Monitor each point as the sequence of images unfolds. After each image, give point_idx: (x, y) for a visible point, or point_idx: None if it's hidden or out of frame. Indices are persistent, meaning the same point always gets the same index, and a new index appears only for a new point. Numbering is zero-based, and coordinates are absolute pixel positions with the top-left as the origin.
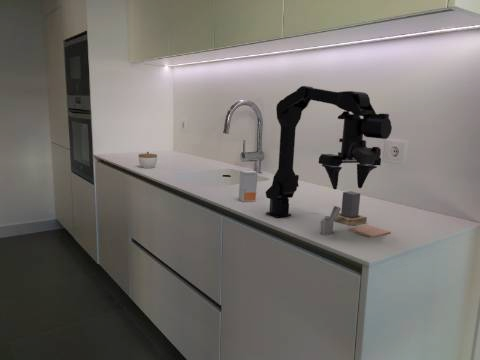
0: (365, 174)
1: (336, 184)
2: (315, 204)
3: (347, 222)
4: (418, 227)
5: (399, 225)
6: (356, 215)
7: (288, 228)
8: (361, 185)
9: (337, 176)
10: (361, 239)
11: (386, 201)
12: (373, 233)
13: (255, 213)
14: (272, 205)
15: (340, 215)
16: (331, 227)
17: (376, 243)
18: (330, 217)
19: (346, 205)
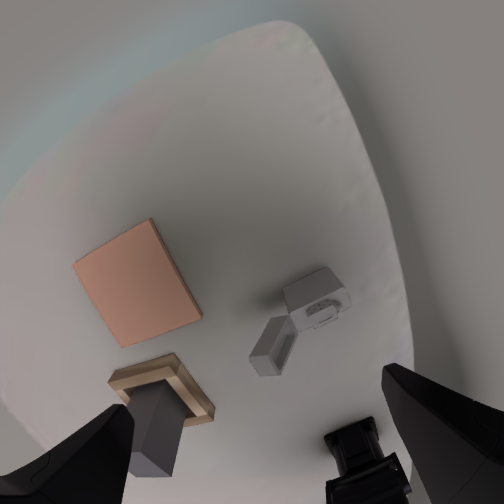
0: (45, 474)
1: (416, 383)
2: (206, 488)
3: (181, 370)
4: (6, 304)
5: (37, 330)
6: (138, 395)
7: (400, 336)
8: (108, 415)
9: (474, 425)
10: (204, 205)
11: None
12: (133, 249)
13: (395, 436)
14: (381, 449)
15: (185, 416)
16: (296, 292)
17: (169, 156)
18: (310, 314)
19: (167, 429)
